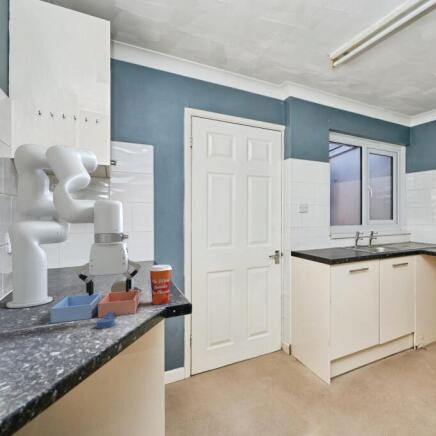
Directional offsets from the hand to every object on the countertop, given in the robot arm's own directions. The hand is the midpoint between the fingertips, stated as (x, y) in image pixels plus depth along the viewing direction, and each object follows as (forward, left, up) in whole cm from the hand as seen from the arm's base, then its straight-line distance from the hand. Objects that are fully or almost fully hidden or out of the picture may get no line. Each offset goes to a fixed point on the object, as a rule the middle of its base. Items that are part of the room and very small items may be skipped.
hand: (109, 293), depth 99 cm
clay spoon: (-13, +1, -8) cm, 15 cm away
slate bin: (-13, -11, -9) cm, 19 cm away
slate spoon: (+2, 0, -9) cm, 9 cm away
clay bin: (-13, +1, -9) cm, 15 cm away
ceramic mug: (-34, +1, -9) cm, 35 cm away
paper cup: (-16, +14, -9) cm, 23 cm away
